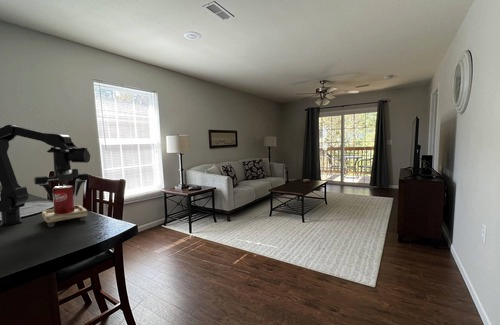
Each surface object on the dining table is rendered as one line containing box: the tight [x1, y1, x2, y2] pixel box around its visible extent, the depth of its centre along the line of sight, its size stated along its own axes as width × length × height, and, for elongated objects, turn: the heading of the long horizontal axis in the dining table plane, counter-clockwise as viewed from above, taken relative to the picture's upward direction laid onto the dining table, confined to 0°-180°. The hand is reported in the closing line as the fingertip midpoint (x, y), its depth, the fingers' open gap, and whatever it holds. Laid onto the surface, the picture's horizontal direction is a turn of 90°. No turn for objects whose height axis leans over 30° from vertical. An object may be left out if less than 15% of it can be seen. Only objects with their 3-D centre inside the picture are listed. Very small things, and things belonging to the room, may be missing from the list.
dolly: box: [41, 204, 88, 228], centre depth 105 cm, size 14×14×5 cm
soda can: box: [52, 185, 75, 215], centre depth 104 cm, size 7×7×12 cm
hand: (63, 197), depth 104 cm, fingers open, 9 cm apart
